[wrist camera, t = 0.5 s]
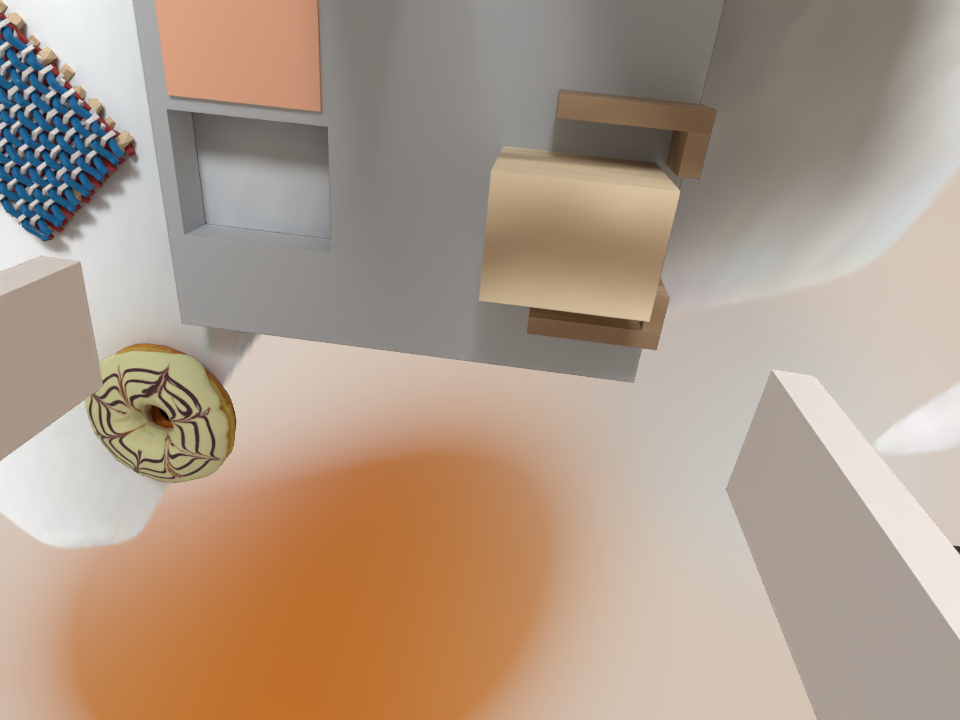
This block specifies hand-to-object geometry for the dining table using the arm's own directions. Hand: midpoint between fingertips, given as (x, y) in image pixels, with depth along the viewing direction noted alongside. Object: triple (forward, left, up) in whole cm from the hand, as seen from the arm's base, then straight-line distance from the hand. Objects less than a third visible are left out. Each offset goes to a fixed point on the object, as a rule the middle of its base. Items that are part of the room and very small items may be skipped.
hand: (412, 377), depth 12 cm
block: (+2, +4, -24) cm, 24 cm away
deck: (+1, -5, -26) cm, 27 cm away
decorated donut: (+20, -23, -27) cm, 40 cm away
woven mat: (+1, -29, -27) cm, 40 cm away
